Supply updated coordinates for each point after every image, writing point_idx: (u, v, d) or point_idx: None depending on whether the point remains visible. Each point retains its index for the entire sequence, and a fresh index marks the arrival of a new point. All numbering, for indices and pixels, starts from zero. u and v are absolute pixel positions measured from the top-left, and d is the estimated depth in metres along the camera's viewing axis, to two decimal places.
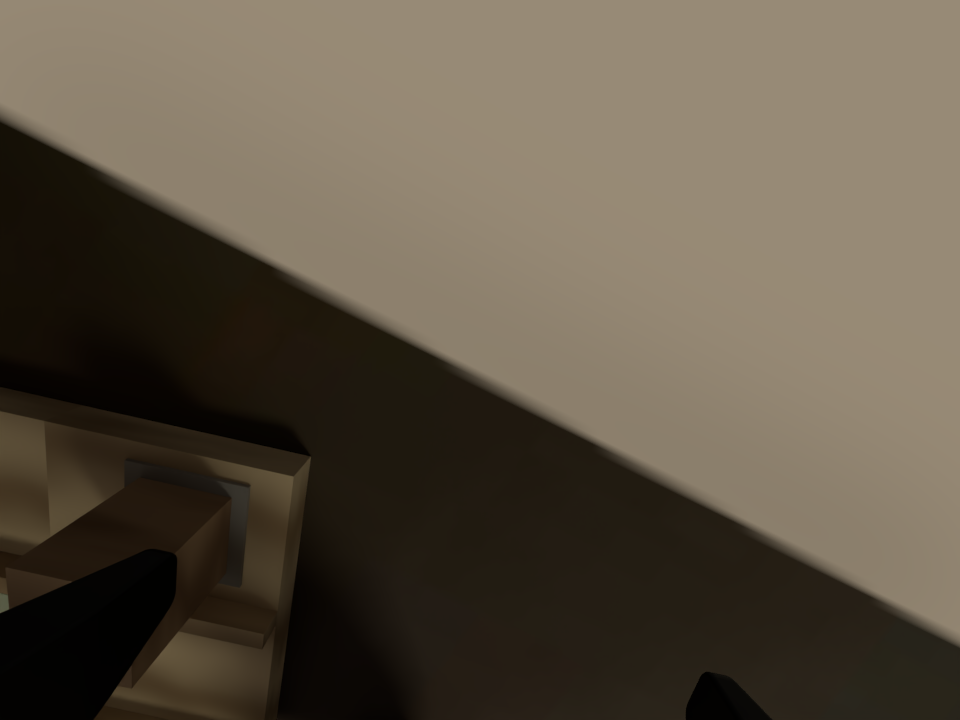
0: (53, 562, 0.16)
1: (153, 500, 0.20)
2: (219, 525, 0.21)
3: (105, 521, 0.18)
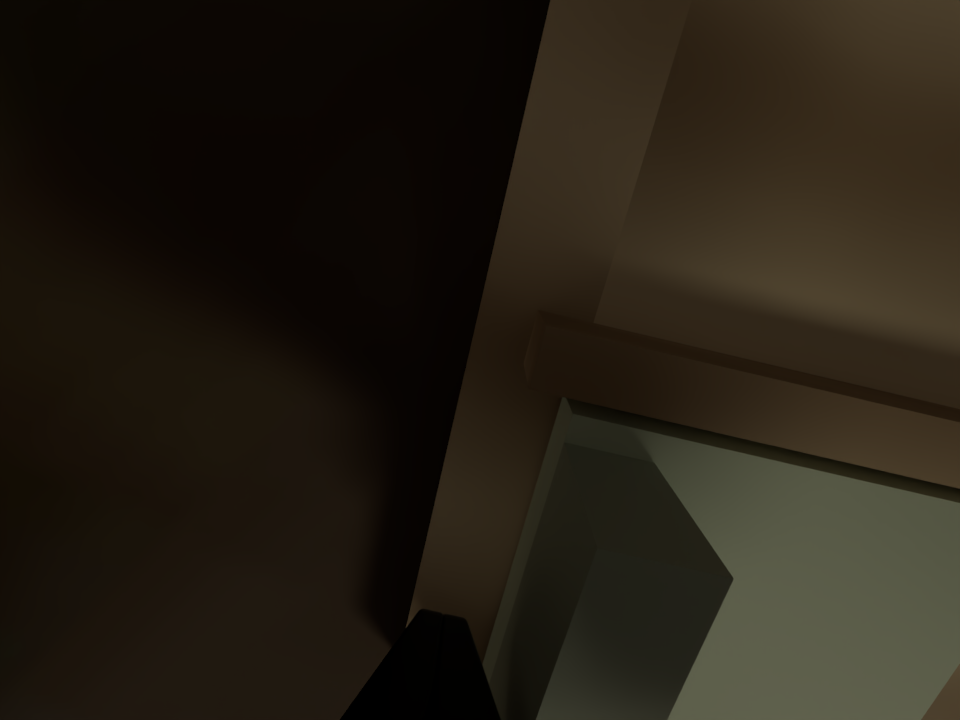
0: None
1: None
2: None
3: None
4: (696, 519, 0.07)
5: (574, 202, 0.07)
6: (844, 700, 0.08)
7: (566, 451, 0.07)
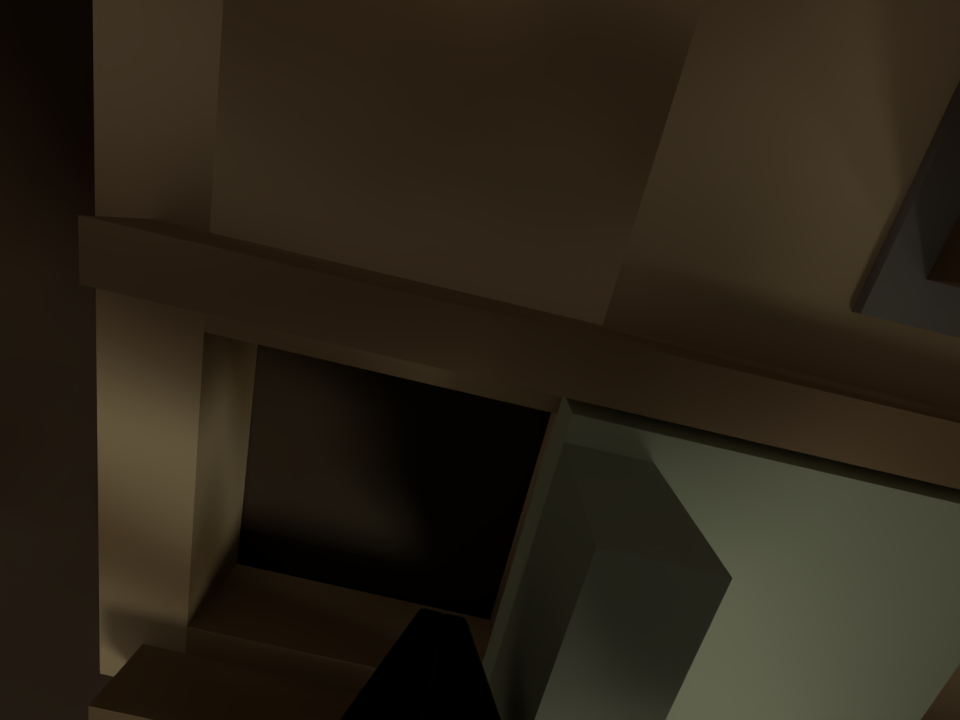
0: None
1: None
2: None
3: None
4: (696, 519, 0.07)
5: (163, 103, 0.07)
6: (843, 700, 0.08)
7: (566, 450, 0.07)
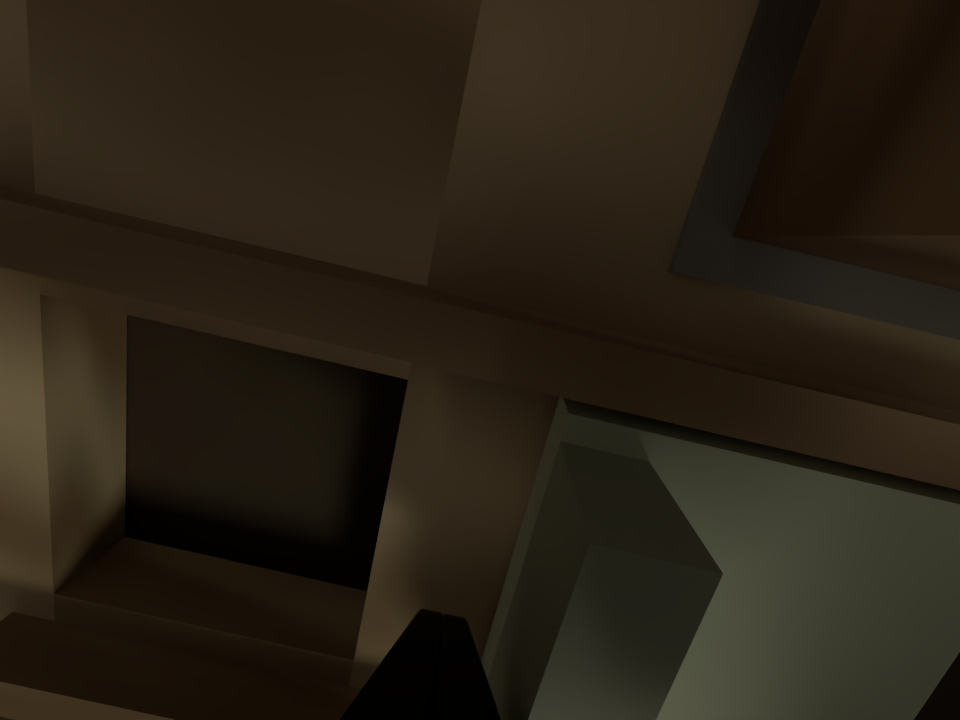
0: None
1: None
2: None
3: None
4: (691, 517, 0.08)
5: None
6: (839, 698, 0.08)
7: (563, 450, 0.07)
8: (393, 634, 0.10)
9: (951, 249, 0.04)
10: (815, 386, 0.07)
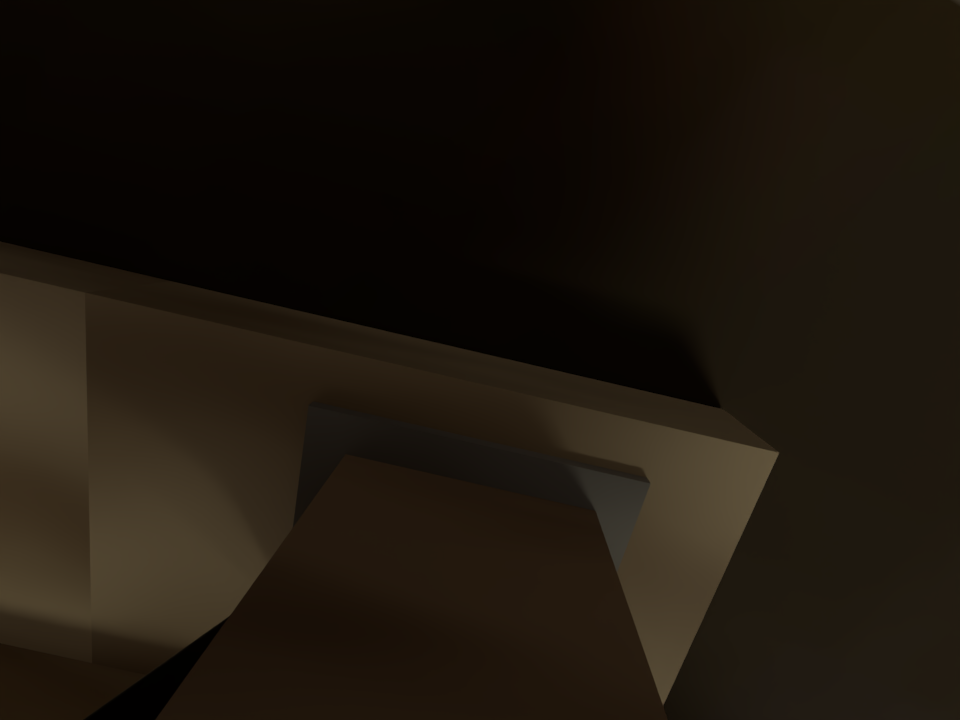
0: None
1: (427, 522, 0.06)
2: None
3: (342, 608, 0.05)
4: None
5: None
6: None
7: None
8: None
9: None
10: None
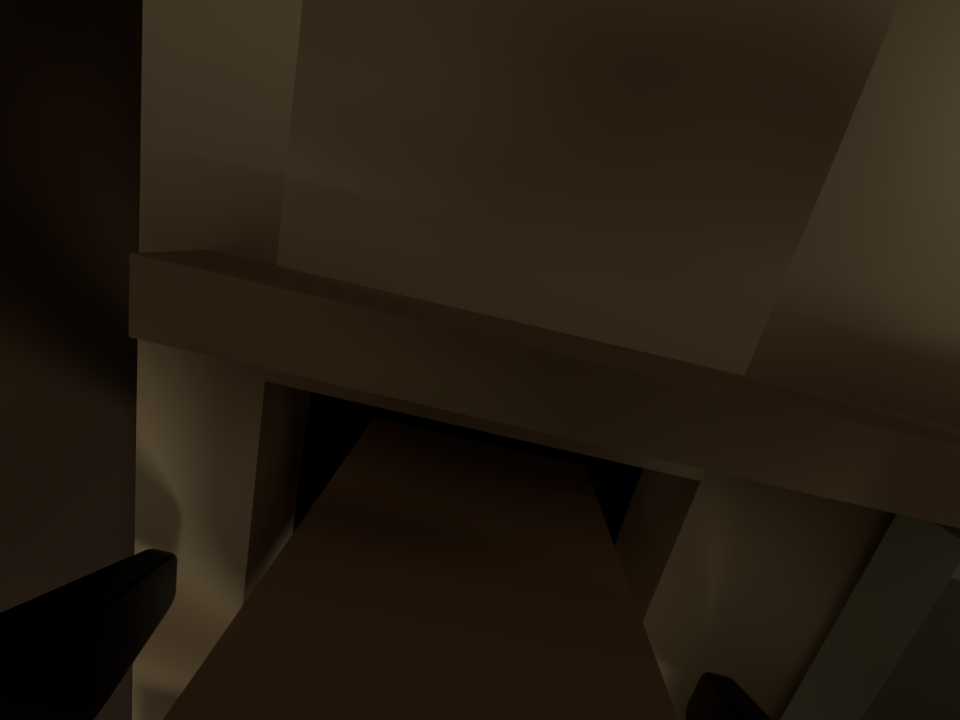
0: (333, 678, 0.04)
1: (446, 466, 0.08)
2: None
3: (385, 518, 0.06)
4: None
5: (225, 112, 0.06)
6: None
7: None
8: None
9: None
10: None
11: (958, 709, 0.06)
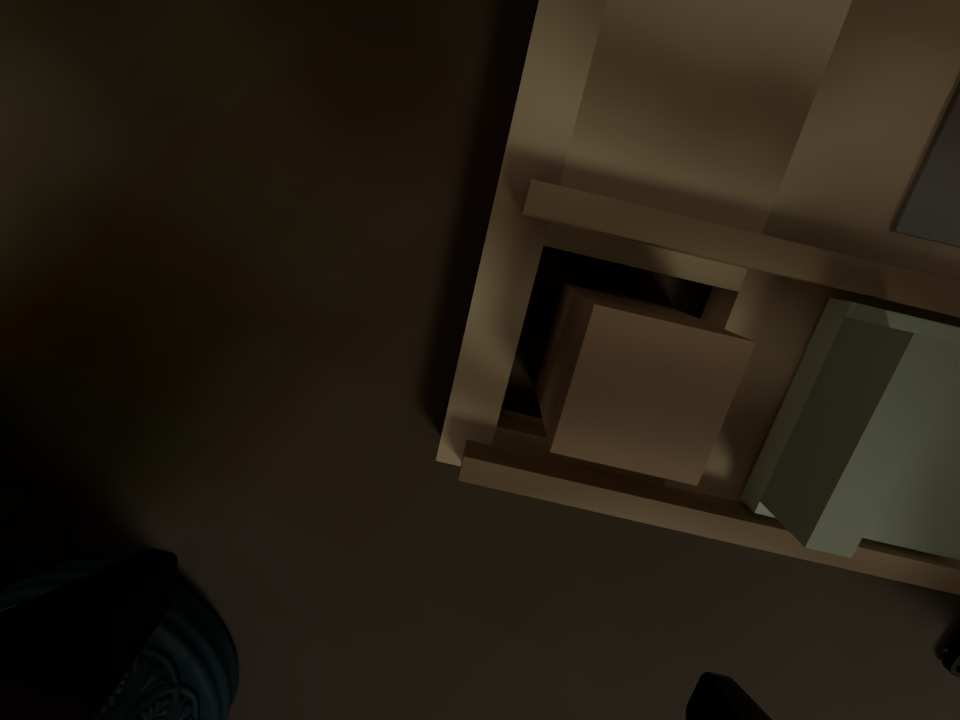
0: (629, 310, 0.12)
1: (613, 296, 0.16)
2: None
3: (606, 298, 0.15)
4: None
5: (546, 125, 0.14)
6: None
7: (851, 318, 0.14)
8: None
9: None
10: None
11: (844, 361, 0.14)
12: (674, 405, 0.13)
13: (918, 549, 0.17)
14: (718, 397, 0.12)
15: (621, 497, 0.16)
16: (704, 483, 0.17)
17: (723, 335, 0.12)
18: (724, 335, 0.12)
